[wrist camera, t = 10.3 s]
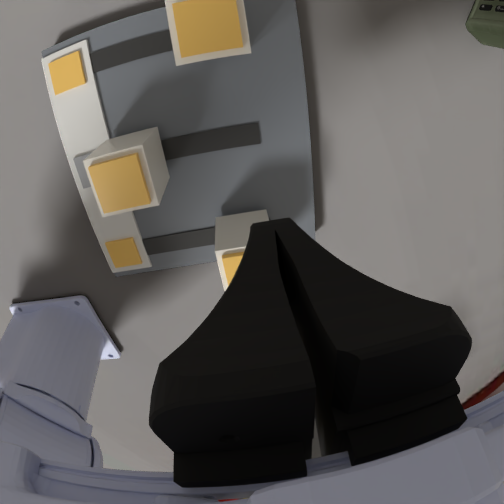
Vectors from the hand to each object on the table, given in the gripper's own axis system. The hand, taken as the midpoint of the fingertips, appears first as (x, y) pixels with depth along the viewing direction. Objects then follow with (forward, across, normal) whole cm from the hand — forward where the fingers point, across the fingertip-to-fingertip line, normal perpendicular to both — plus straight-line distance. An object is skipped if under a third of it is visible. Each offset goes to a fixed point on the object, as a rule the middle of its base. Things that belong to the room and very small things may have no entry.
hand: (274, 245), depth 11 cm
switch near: (+8, +1, -8) cm, 11 cm away
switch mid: (+8, +6, -2) cm, 10 cm away
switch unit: (+10, +4, -2) cm, 10 cm away
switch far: (+8, +1, +4) cm, 9 cm away
